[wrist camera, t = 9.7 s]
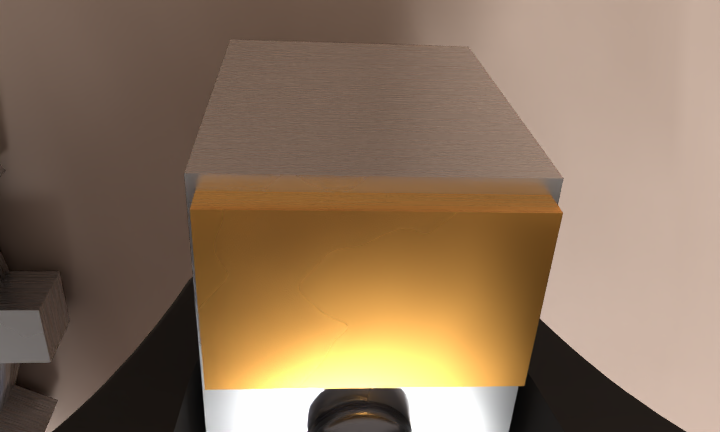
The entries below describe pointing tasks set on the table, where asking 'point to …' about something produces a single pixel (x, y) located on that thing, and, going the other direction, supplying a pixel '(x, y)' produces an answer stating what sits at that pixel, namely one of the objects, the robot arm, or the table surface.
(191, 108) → the table surface
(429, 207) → the knob box
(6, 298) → the sprocket
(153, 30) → the table surface
